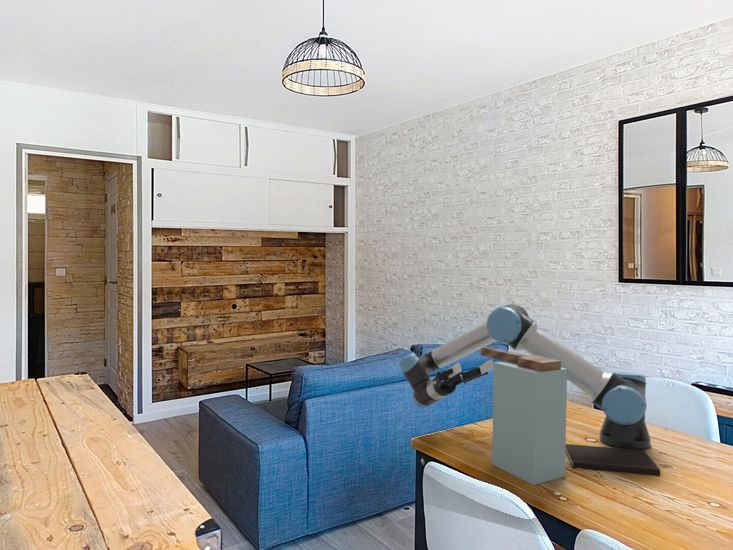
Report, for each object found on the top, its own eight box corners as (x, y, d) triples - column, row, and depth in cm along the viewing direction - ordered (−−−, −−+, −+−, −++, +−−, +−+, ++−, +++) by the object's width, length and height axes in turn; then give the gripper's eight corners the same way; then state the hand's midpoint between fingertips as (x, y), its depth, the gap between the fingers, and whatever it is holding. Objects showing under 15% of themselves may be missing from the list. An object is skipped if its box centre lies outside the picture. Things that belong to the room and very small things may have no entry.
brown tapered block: (475, 355, 165) (475, 348, 165) (492, 353, 168) (492, 346, 168) (542, 371, 141) (542, 362, 141) (560, 369, 145) (561, 360, 145)
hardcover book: (564, 450, 169) (564, 443, 168) (643, 457, 164) (643, 450, 164) (572, 470, 153) (573, 462, 153) (660, 477, 148) (660, 469, 148)
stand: (492, 464, 155) (493, 362, 154) (522, 457, 161) (524, 359, 160) (533, 484, 141) (535, 372, 140) (564, 476, 147) (567, 368, 146)
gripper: (472, 392, 191) (509, 372, 174) (414, 400, 179) (448, 380, 162) (466, 372, 194) (502, 351, 177) (409, 379, 182) (441, 357, 165)
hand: (476, 365), depth 170 cm, fingers open, 13 cm apart
